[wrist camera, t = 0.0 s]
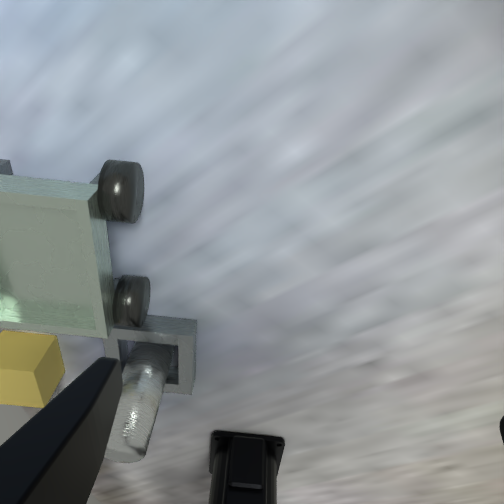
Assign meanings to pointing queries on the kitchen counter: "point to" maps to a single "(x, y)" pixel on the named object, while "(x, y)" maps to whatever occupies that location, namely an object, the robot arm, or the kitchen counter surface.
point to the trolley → (68, 252)
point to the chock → (29, 368)
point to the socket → (163, 333)
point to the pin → (139, 401)
